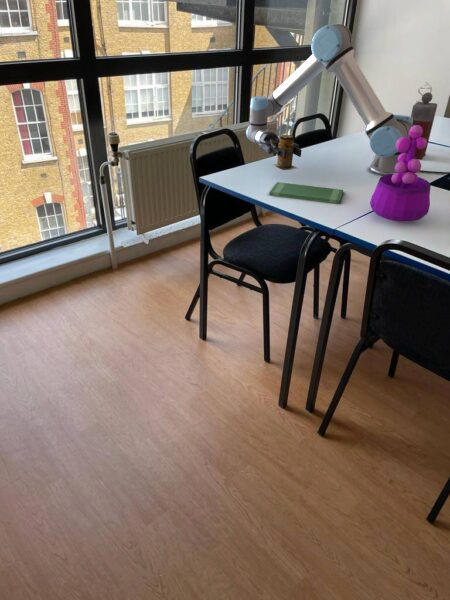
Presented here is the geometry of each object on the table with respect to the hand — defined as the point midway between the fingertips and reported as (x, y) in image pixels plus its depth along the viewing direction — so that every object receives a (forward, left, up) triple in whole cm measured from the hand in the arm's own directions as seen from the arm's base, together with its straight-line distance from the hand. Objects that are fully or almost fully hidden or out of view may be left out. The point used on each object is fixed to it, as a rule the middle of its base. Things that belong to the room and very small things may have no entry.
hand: (292, 154), depth 179 cm
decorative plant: (-42, +23, -11) cm, 49 cm away
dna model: (-47, -74, -11) cm, 88 cm away
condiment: (+3, -4, -7) cm, 8 cm away
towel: (-9, +11, -11) cm, 18 cm away
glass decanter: (-48, -59, -11) cm, 77 cm away
